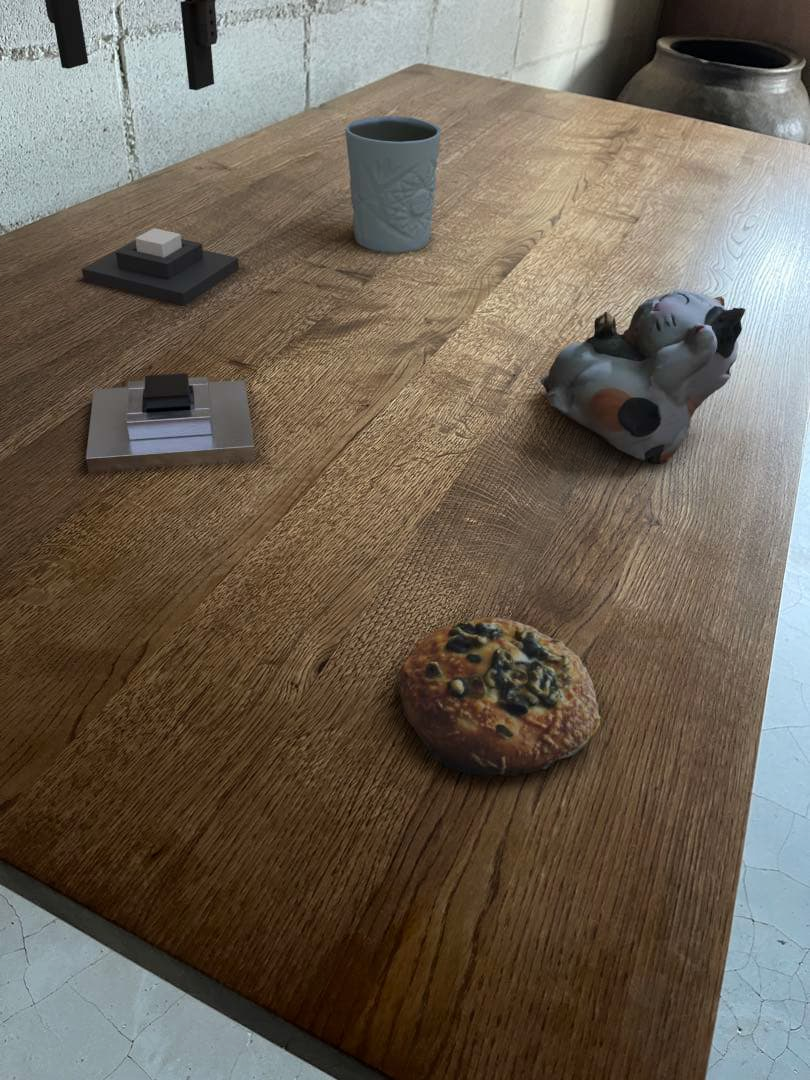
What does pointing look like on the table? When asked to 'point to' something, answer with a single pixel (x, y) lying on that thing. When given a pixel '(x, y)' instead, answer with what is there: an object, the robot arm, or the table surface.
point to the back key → (158, 242)
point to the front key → (167, 392)
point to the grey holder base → (169, 428)
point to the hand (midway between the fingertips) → (137, 76)
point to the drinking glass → (392, 181)
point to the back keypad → (162, 272)
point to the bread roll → (497, 698)
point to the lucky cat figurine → (647, 372)
